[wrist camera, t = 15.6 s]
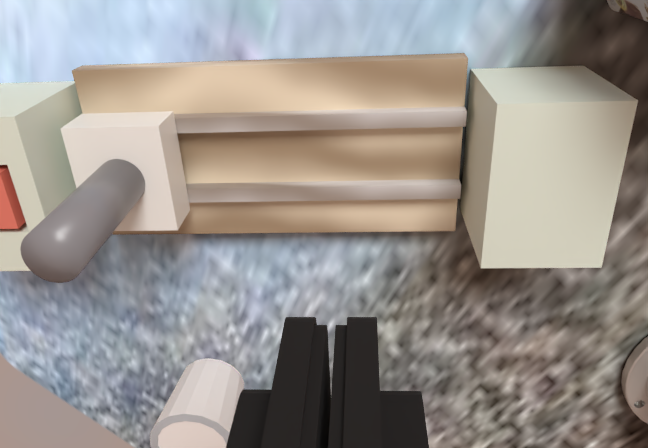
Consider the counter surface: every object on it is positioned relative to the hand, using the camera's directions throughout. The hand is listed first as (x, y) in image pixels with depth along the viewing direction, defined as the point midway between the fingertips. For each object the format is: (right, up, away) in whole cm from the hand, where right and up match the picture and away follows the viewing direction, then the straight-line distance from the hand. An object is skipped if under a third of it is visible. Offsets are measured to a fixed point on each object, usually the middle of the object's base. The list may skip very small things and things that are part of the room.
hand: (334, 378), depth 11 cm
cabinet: (+13, +8, +28) cm, 32 cm away
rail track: (-4, +8, +29) cm, 30 cm away
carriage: (-13, +7, +27) cm, 31 cm away
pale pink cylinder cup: (-10, -11, +40) cm, 43 cm away
